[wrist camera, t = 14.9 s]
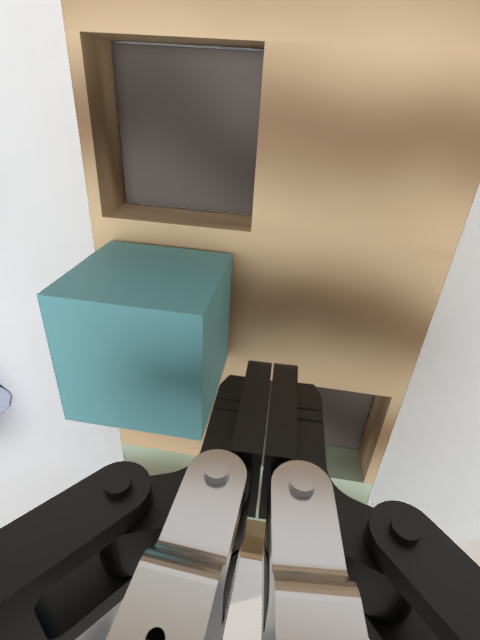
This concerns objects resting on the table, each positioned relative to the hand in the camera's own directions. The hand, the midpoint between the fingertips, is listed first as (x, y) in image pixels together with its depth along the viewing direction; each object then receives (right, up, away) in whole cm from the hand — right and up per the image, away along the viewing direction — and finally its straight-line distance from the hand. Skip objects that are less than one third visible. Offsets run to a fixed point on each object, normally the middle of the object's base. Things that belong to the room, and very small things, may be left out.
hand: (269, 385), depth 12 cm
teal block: (-4, +3, +5) cm, 7 cm away
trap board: (0, +4, +7) cm, 8 cm away
